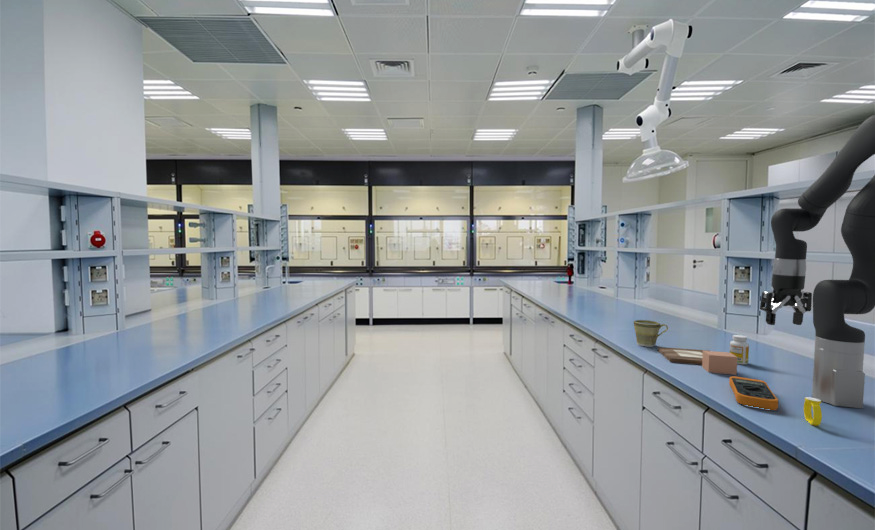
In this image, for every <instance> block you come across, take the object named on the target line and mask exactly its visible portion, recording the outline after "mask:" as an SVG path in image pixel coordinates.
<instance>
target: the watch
mask: <svg viewBox="0 0 875 530" xmlns="http://www.w3.org/2000/svg"><path fill="white" fill-rule="evenodd" d="M820 404H822V401H821V400H819V399H816V398H814V397H813V396H805V397H804V402H803V415H804V419H805V421H806V422H807V421H808V424H809V423H810V424H809V425H810V426H815V427H819V426H820V425H821V422H822V418H823V414H822V408H821V405H820ZM812 412H813V414H812Z"/></svg>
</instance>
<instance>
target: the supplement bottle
mask: <svg viewBox="0 0 875 530" xmlns="http://www.w3.org/2000/svg"><path fill="white" fill-rule="evenodd" d="M747 340H748V337H747V336H745V335H741V334H739V335H737V334H733V335H732V340H731V341H730V342H729V353H731V354H733V355H735V356H736V357H737V365H748V364H749V357H750V356H749V351H750V344H749V343H748V342H747Z"/></svg>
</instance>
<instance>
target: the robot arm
mask: <svg viewBox="0 0 875 530" xmlns="http://www.w3.org/2000/svg"><path fill="white" fill-rule="evenodd" d="M874 155H875V114H873V115H871V116H869V117H868V118H866V119H865V120H864V121H863V122H862V123H861V124H860V125H859V126H858V127H857V128H856V130H855V131H854V132H853V133H852V134H851V136H850V137H849V139H848V140H847V141H846V143H845V144H844V146H842V148H841V150H840V151H839V152H838V153H837V154H836V156H835V158H834V159H833V160H832V162H831V163H830V165H829V166H828V167H827V168H826V169H825V171H824V172H823V173H822V174H821V175H820V176H819V177H818V178H817V179H816V180H814V182H813V183H812V184H811V185H810V186H809V187H808V188H807V189H806V190H805V191H804V192H803V193H802V194H801V195H800V196H799V197H798V199H797V204H798V206H799V207H800V208H795V207H794V208H791V207H789V208H781V209H778V210H776V211H775V212H774V213H773V215H772V217H771V219H770V226H771V230H772V235H773V239H774V242H775V254H774V260H773V261H774V262H773V264H772V276H771V287H772V289H773V290H772V292H771V291H765V290H764V291H762V292H761V298H760V304H759V309H760V310H761V311H764V312H765V322H766V324H767V325H769V326H775V325H776V319H777V317H776V315H777V314H776V312H778V310H779V309H782V308H783V307H787V306H789V307H791V308H792V309H793V317H792V324H793V325H797V326H801V325H802V324H803V322H804V314H805V313H806V312H811V311H812V323H813V326H814V331H815V335H814V336H815V338H814V339H815V340H814V352H813V353H814V354H813V356H814V357H813V372H812V389H811V397H812V398H816V399H819V400H821V402H823V403H827V404H830V405H831V406H835V407H844V408H853V409H855V408H856V409H864V395H865V394H864V393H865V378H866V377H865V376H866V373H865V372H864V360H865V357H864V356H865V345H866V344H865V343H866V342H865V341H866V333H865V331H864V330H862V329H860V328H857V327H855V326H852V325H850V324H848V323H847V322H846V320H845V315H866V314H868V313H869V314H870V312H872V311H873V310H874V308H875V174H874V175H873V176H872V177H871V179H870V180H869V181H868V182H867V183H866V184H864V185H863V187H862V188H861V189H860V190H859V191H858V192H857V193H856V194H855V196H854V197H852V199H851V200H850V202H849V203H848V205H847V207H846V209H845V212H844V217H843V219H842V223H841V227H840V232H841V233H840V234H841V237H842V239H843V241H844V243H845V245H846V247H847V249H848V250H849V253H850V255H851V257H852V258H851V259H852V270H851V273H850V276H849V279H824V280H820V281H819V282H818V283H817V284H816V285H815V287H814V289H813V292H811V291H810V292H809V291H804V289H805V283H806V282H805V281H806V275H807V274H806V272H807V250H808V249H807V248H808V243H807V241H805V240H802V239H798V238H796V237H795V234H794V232H801V233H802V232H807V231H810V230H812V229H814V228H815V227H816V226H817V225H818V224H819V223H820V221H821V219H822V218H823V217H824V215H825V213H826V212H827V209H829V208H830V207H831V206H833V204H835V203H836V202H837V201H838V200H840V198H842V196H844V195H845V194H846V193H847V191H848V190H849V188H850V186H851V185H852V182H853V179H854V175H855V173H856V171H857V169H858V168H859V167H860V166H862V164H863V163H865V162H866V161H867V160H868V159H870V158H871V157H872V156H874Z"/></svg>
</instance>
